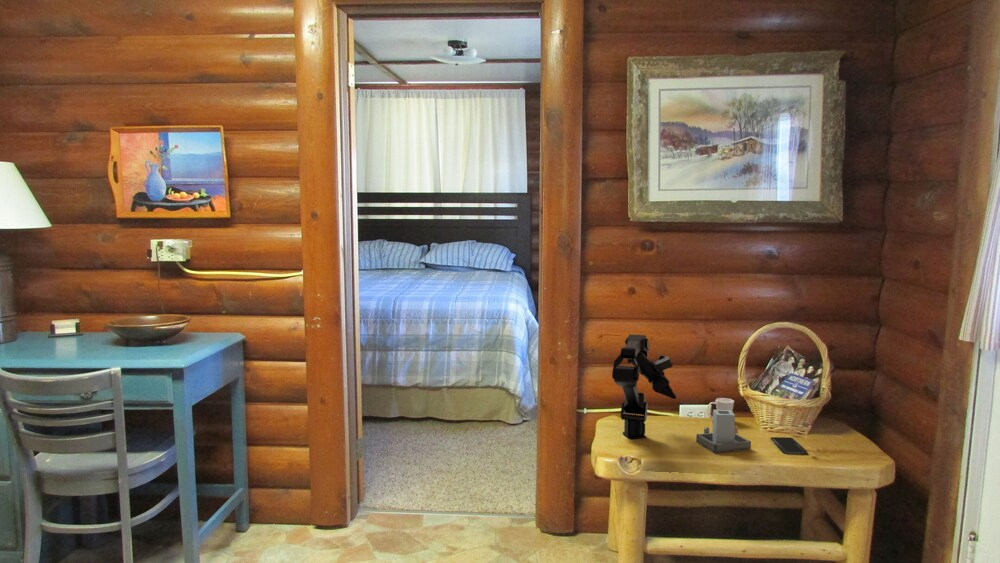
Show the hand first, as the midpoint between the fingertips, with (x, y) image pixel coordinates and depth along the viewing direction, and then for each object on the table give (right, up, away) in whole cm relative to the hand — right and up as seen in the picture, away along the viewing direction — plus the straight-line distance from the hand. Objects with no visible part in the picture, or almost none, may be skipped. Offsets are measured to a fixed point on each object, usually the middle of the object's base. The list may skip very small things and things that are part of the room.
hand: (673, 394), depth 239 cm
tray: (+13, -15, -15) cm, 25 cm away
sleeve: (+13, -14, -15) cm, 25 cm away
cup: (+22, -12, +13) cm, 28 cm away
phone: (+35, -15, -16) cm, 42 cm away
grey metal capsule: (+11, -14, -5) cm, 18 cm away
